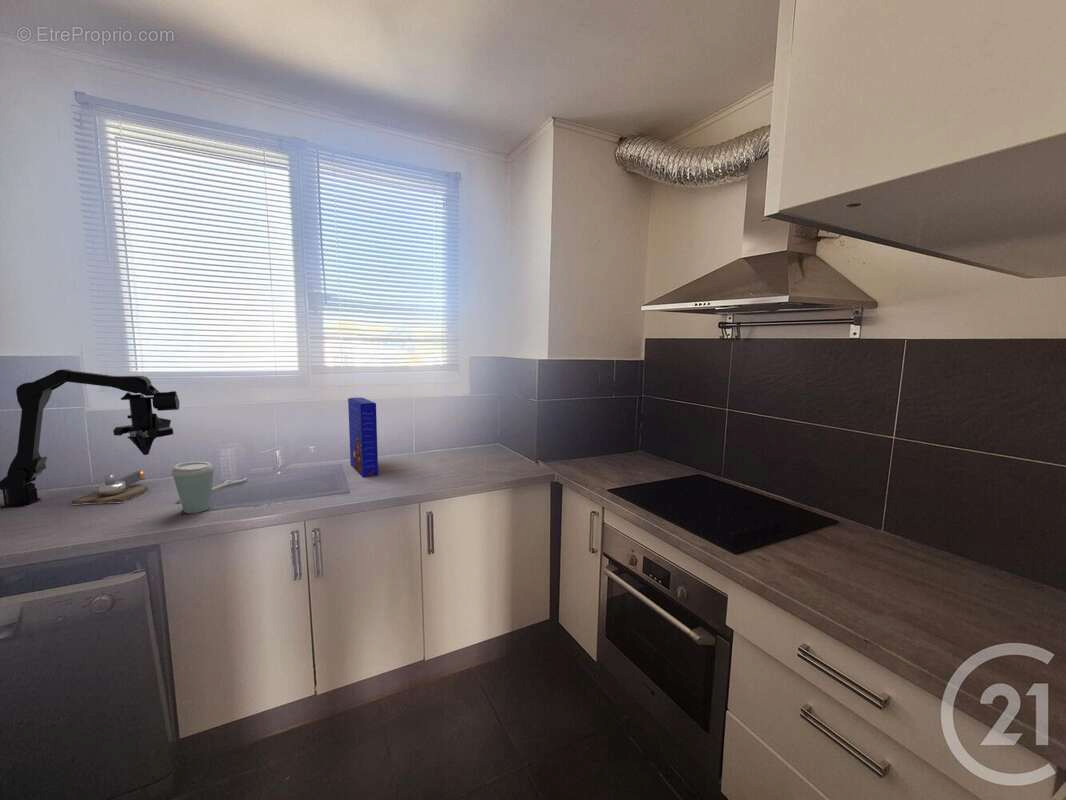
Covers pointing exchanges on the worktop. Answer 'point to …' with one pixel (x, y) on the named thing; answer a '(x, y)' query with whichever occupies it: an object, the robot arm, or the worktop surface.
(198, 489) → the disposable coffee cup
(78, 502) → the block
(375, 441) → the cereal box
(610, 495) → the worktop surface
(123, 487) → the amber-knobbed lever
